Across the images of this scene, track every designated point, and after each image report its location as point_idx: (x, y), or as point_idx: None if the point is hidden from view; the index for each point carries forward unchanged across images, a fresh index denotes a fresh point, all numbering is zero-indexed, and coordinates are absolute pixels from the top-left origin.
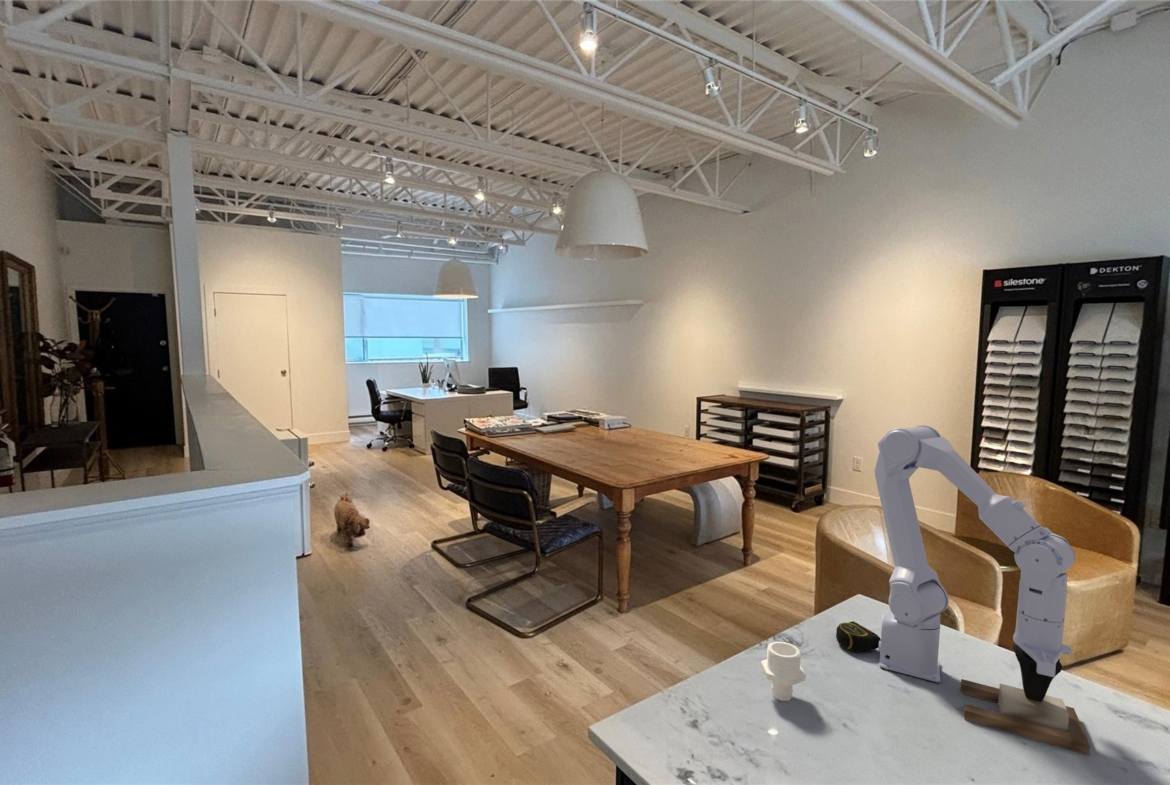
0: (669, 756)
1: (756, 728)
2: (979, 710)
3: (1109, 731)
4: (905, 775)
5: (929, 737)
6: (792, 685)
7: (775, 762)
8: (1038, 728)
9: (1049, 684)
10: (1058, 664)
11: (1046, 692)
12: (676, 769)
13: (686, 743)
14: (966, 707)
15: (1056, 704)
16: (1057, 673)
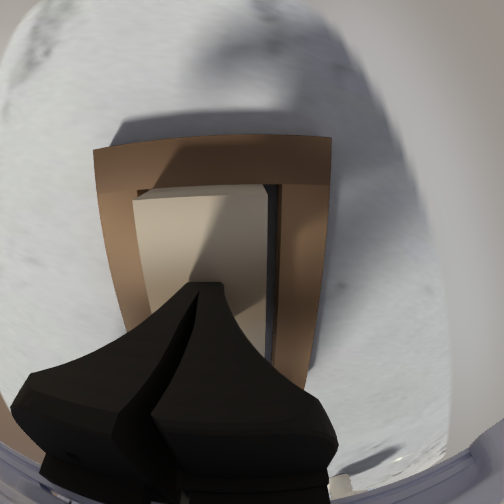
0: (430, 461)
1: (396, 463)
2: (287, 378)
3: (134, 63)
4: (450, 392)
5: (379, 400)
6: (344, 486)
7: (435, 441)
8: (309, 269)
9: (238, 327)
10: (258, 449)
11: (223, 298)
12: (441, 454)
13: (418, 465)
14: None
15: (197, 229)
16: (297, 387)
